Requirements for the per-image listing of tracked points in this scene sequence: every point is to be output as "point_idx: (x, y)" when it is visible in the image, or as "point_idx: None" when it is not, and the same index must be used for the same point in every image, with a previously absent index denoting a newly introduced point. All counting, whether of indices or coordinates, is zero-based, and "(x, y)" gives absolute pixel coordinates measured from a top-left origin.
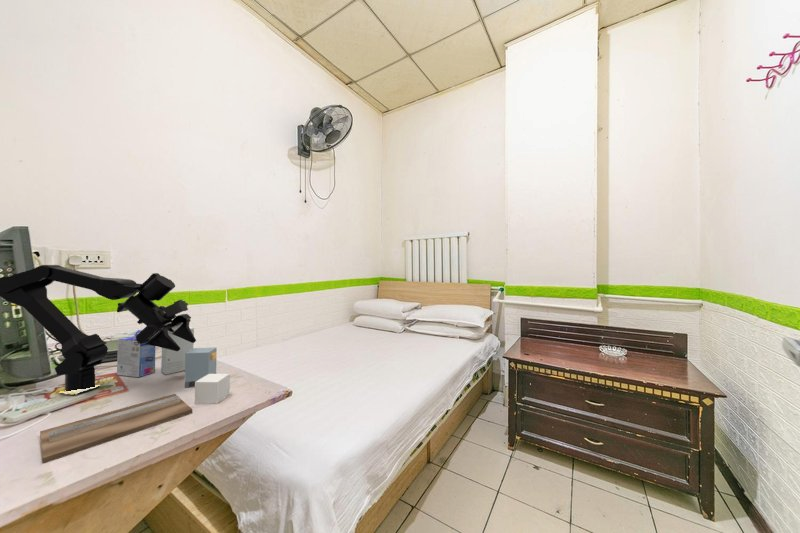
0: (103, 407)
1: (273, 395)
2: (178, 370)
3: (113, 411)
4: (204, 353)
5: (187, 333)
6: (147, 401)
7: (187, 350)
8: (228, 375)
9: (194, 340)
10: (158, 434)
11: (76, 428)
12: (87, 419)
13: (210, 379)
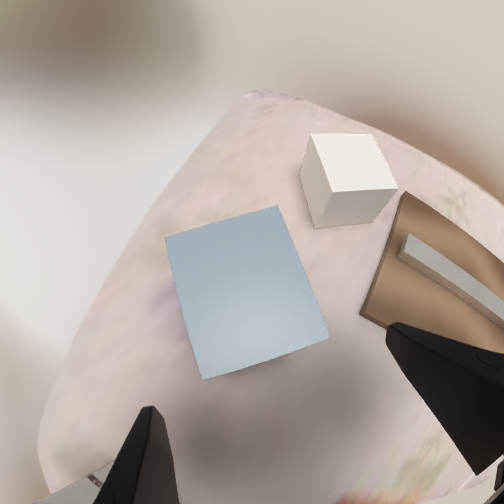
0: (434, 437)
1: (279, 97)
2: None
3: None
4: (284, 230)
5: (149, 496)
6: None
7: (93, 501)
8: (317, 135)
9: (155, 413)
10: (458, 201)
11: None
12: None
13: (366, 159)
